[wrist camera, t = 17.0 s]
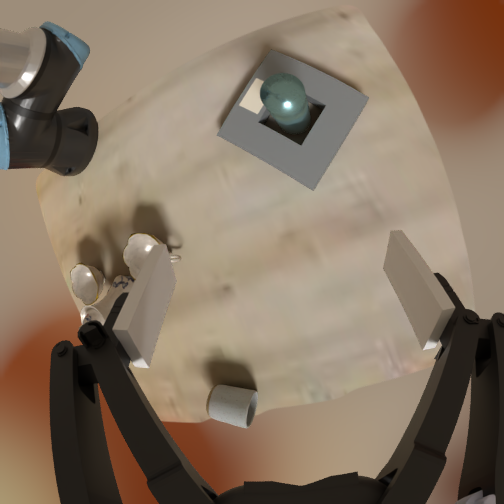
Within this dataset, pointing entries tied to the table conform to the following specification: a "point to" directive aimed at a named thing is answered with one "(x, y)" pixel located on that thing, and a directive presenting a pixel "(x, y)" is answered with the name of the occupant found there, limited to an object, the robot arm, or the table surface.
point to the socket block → (319, 138)
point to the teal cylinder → (286, 102)
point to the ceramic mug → (232, 405)
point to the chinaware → (92, 280)
